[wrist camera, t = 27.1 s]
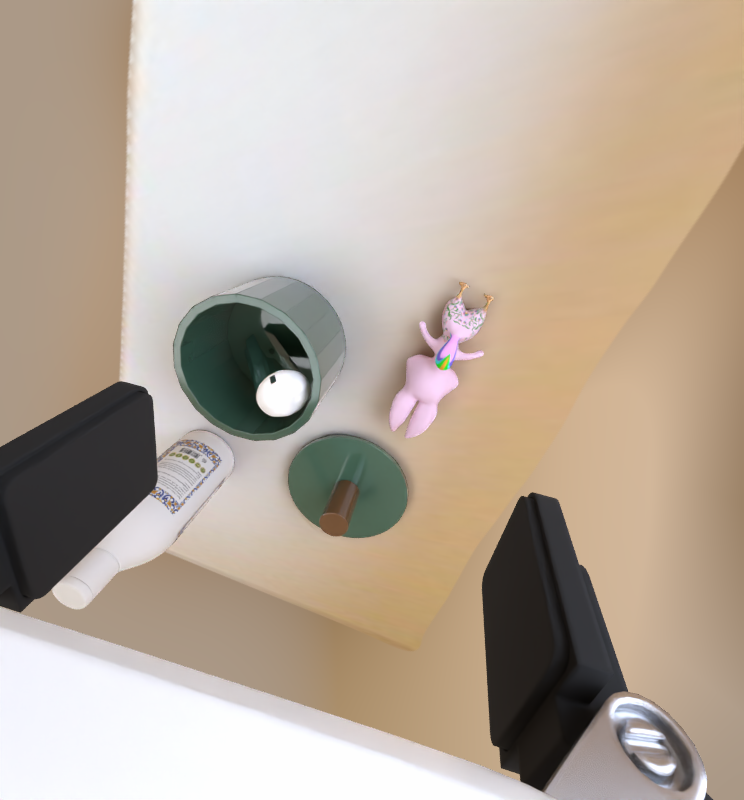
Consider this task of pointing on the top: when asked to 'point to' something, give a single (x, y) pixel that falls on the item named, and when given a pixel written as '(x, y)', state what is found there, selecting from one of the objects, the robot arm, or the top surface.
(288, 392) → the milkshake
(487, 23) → the top surface
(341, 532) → the pot lid
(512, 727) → the robot arm
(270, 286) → the pot
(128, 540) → the bath foam
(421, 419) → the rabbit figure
